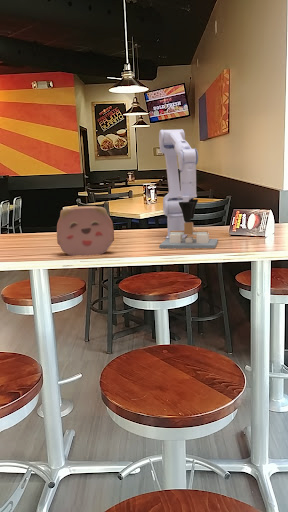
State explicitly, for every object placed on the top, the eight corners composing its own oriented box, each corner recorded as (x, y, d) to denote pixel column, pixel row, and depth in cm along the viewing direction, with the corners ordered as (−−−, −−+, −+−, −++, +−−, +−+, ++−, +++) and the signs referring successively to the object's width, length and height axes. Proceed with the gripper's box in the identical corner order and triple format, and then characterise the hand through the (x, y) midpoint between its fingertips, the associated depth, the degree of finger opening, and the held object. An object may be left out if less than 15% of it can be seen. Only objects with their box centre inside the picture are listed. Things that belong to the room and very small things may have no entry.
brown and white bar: (171, 233, 167) (170, 222, 166) (208, 233, 164) (208, 222, 163) (169, 234, 164) (169, 223, 164) (207, 234, 161) (207, 223, 160)
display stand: (166, 241, 174) (166, 231, 173) (217, 241, 169) (217, 231, 168) (159, 248, 161) (159, 236, 160) (214, 248, 156) (214, 237, 155)
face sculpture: (57, 257, 152) (53, 208, 149) (59, 253, 159) (55, 207, 156) (115, 254, 153) (112, 206, 150) (114, 250, 160) (112, 204, 157)
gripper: (180, 182, 168) (181, 217, 171) (173, 184, 155) (174, 222, 157) (199, 181, 167) (199, 217, 169) (194, 183, 153) (194, 222, 156)
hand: (188, 220), depth 163 cm, fingers open, 7 cm apart
